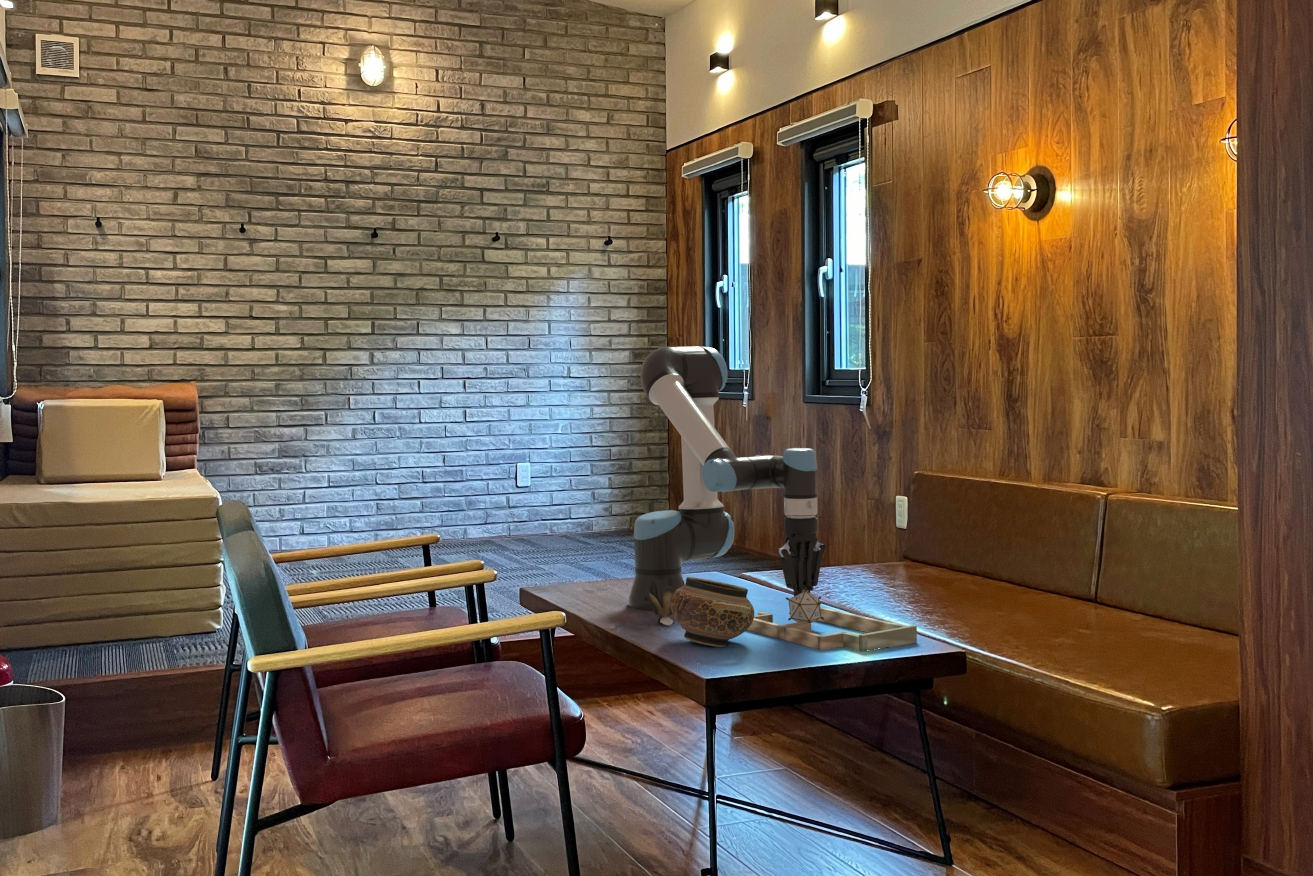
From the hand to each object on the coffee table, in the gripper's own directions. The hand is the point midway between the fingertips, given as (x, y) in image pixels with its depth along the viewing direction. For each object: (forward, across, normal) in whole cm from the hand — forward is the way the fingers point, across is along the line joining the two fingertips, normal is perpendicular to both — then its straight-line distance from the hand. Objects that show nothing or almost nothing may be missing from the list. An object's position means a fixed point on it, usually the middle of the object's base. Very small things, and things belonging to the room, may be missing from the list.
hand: (802, 618), depth 280 cm
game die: (+2, -3, -4) cm, 5 cm away
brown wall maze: (+2, 0, -12) cm, 12 cm away
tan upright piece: (+2, -26, +19) cm, 32 cm away
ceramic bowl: (+2, -29, -5) cm, 29 cm away
